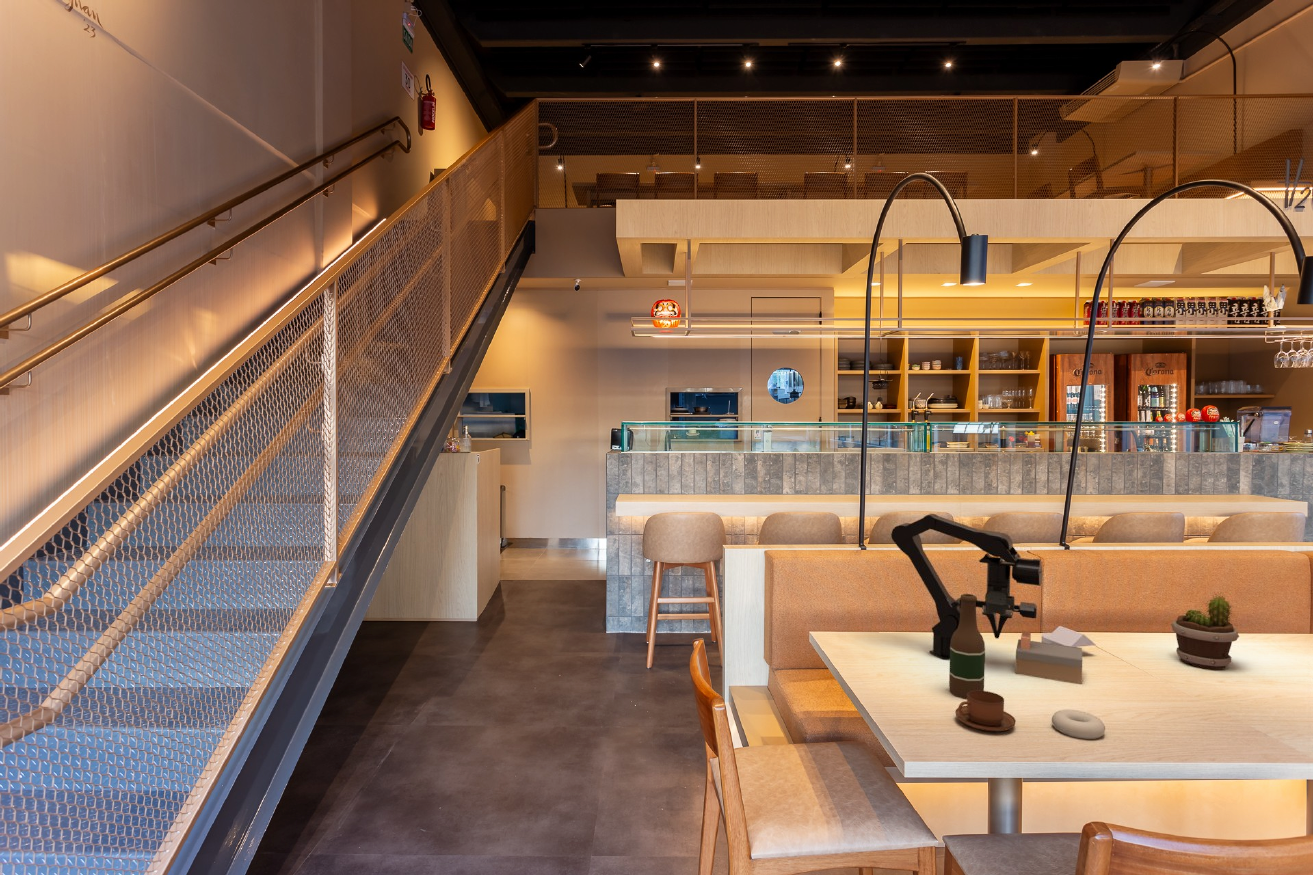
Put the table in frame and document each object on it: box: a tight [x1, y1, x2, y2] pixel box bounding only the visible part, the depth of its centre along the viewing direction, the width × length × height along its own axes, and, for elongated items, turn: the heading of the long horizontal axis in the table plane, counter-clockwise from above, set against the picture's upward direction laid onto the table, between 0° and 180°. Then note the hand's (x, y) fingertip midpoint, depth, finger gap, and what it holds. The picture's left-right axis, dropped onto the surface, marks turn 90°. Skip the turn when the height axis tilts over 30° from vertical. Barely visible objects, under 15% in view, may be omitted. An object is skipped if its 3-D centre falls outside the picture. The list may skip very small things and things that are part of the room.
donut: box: [1051, 709, 1106, 740], centre depth 160 cm, size 10×4×10 cm
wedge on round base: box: [1041, 625, 1097, 648], centre depth 215 cm, size 9×7×13 cm
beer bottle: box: [948, 593, 986, 700], centre depth 180 cm, size 8×8×24 cm
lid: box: [1015, 630, 1083, 668], centre depth 196 cm, size 15×12×5 cm
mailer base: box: [1015, 657, 1083, 685], centre depth 196 cm, size 15×10×5 cm, turn 61°
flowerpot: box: [1170, 592, 1240, 670], centre depth 204 cm, size 14×15×20 cm
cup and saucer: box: [955, 690, 1016, 732], centre depth 163 cm, size 12×12×6 cm
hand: (996, 638), depth 202 cm, fingers closed
